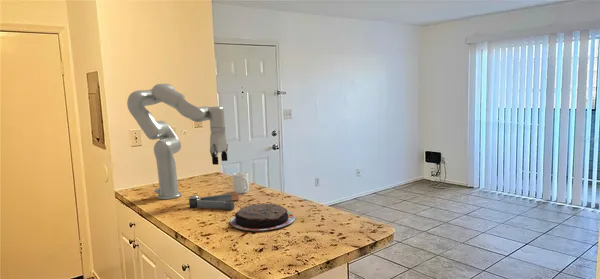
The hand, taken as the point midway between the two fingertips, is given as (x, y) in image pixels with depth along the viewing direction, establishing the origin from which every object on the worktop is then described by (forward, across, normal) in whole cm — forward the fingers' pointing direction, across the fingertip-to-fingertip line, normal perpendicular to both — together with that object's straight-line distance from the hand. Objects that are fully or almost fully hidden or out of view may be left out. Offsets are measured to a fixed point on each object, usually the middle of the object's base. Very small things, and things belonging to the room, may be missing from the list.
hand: (220, 162), depth 214 cm
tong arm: (+18, +13, +3) cm, 22 cm away
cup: (+18, -9, +8) cm, 22 cm away
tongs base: (+18, +19, +4) cm, 27 cm away
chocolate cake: (+19, +33, +37) cm, 53 cm away
